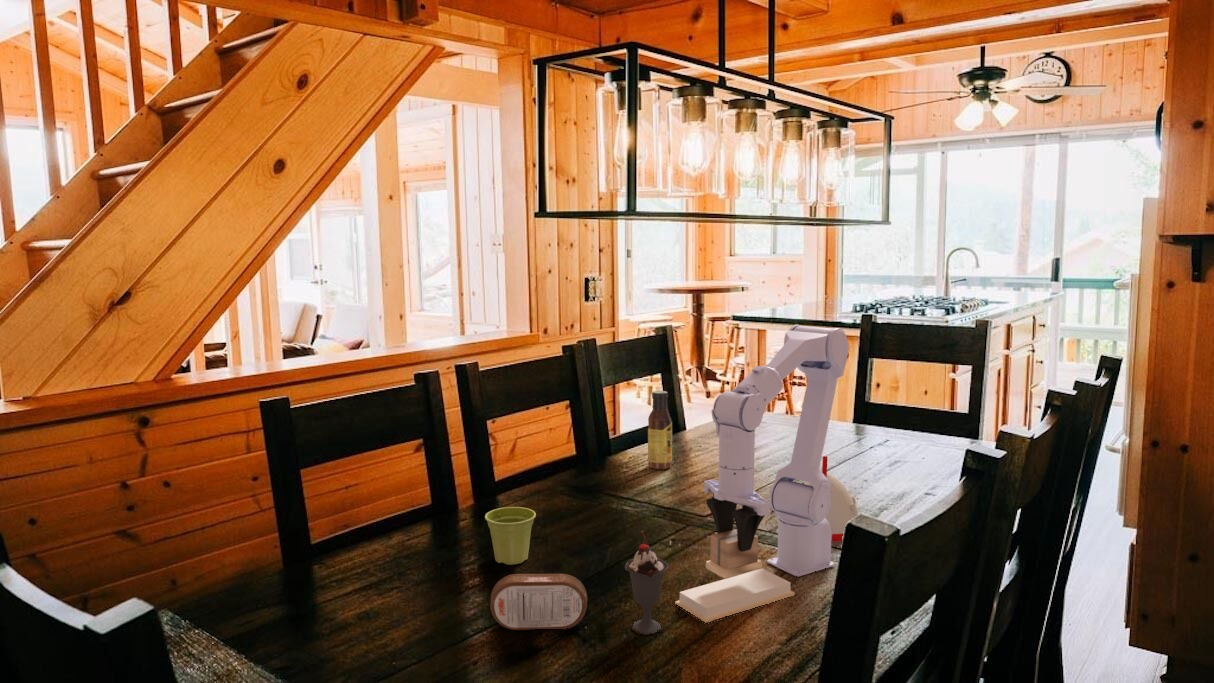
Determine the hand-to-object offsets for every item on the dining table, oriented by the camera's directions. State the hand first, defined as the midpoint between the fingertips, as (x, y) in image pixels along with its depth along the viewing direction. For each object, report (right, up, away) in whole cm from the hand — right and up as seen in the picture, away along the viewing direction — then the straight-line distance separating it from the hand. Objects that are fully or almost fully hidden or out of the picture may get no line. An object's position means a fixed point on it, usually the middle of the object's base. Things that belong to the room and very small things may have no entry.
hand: (734, 545), depth 137 cm
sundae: (-15, -11, -9) cm, 20 cm away
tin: (-32, -11, -8) cm, 35 cm away
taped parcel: (0, -4, 0) cm, 4 cm away
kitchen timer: (+23, -5, +34) cm, 41 cm away
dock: (0, -9, +1) cm, 9 cm away
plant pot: (-39, -7, +19) cm, 44 cm away
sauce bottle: (-7, +1, +79) cm, 79 cm away
